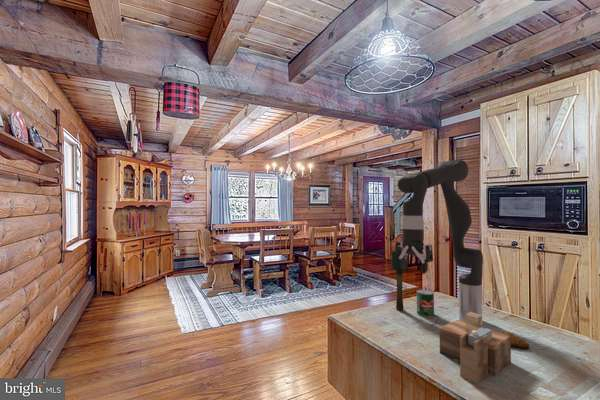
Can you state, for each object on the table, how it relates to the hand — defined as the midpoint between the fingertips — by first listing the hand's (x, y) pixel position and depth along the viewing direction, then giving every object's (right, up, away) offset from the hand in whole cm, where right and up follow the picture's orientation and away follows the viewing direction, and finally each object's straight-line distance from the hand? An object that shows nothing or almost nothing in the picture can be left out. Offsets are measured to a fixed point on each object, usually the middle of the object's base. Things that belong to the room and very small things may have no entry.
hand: (413, 271), depth 112 cm
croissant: (+38, -30, +4) cm, 48 cm away
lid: (+19, -21, -6) cm, 29 cm away
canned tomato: (+19, -30, +35) cm, 50 cm away
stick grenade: (+9, -30, +41) cm, 51 cm away
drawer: (+17, -20, -14) cm, 29 cm away
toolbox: (+16, -29, -8) cm, 34 cm away
